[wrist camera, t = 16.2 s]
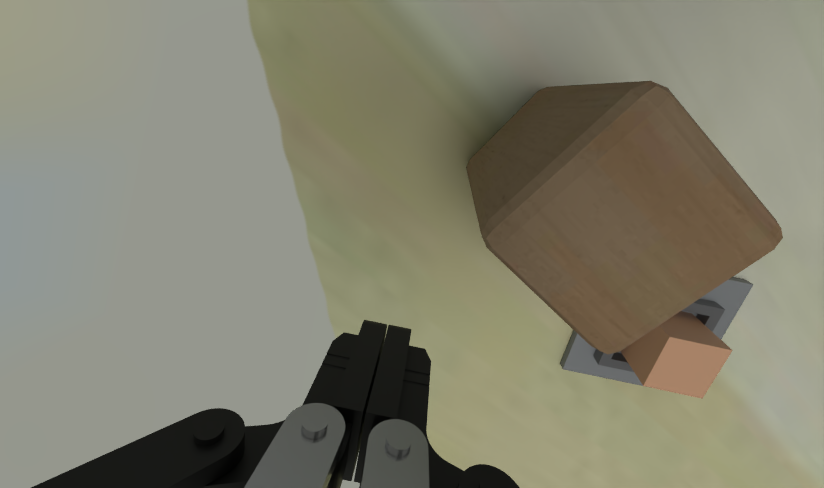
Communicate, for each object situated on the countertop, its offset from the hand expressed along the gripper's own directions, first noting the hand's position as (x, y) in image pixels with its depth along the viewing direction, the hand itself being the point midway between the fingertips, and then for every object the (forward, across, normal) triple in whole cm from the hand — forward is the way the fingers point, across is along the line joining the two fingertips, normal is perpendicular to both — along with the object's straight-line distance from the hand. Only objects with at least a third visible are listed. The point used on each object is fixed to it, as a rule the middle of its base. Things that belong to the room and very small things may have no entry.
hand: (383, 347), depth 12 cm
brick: (+26, -26, +11) cm, 38 cm away
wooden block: (+27, -10, -3) cm, 29 cm away
